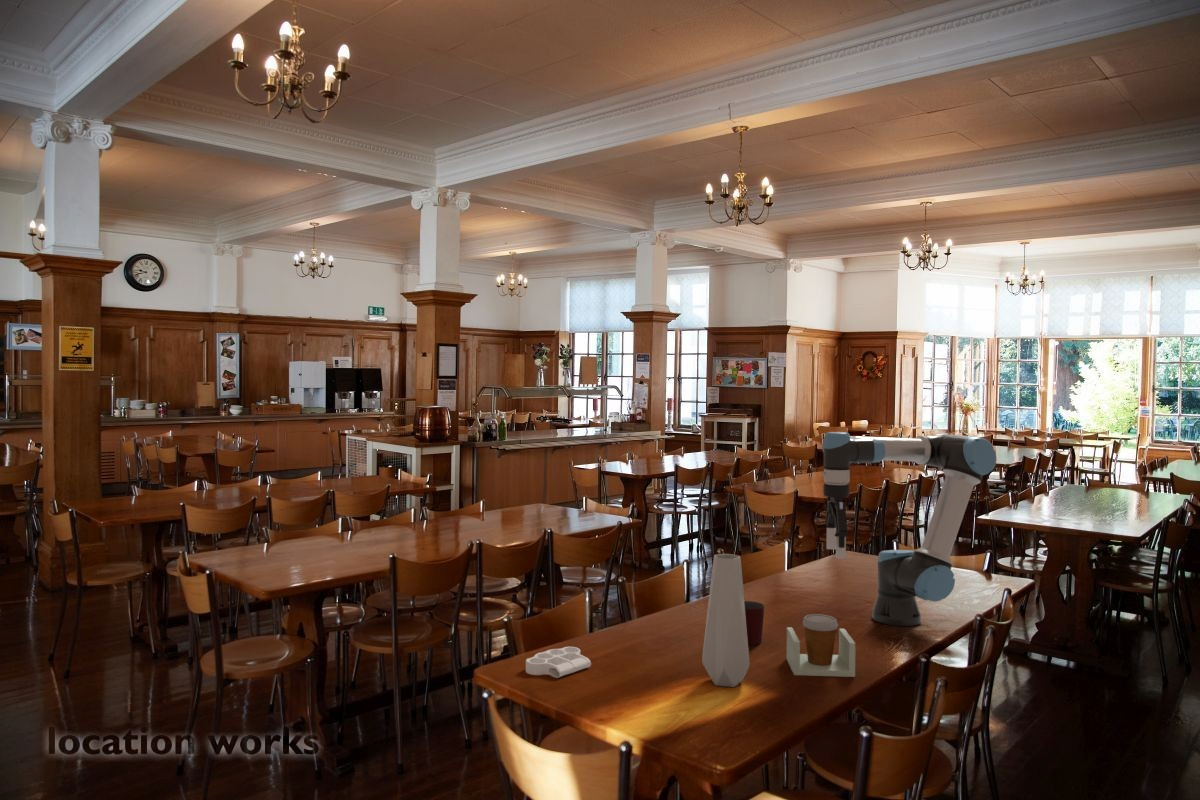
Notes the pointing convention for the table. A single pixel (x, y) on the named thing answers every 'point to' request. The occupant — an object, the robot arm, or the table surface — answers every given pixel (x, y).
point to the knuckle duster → (557, 662)
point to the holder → (801, 666)
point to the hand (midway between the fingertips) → (835, 553)
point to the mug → (754, 621)
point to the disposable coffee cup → (820, 638)
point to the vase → (726, 624)
